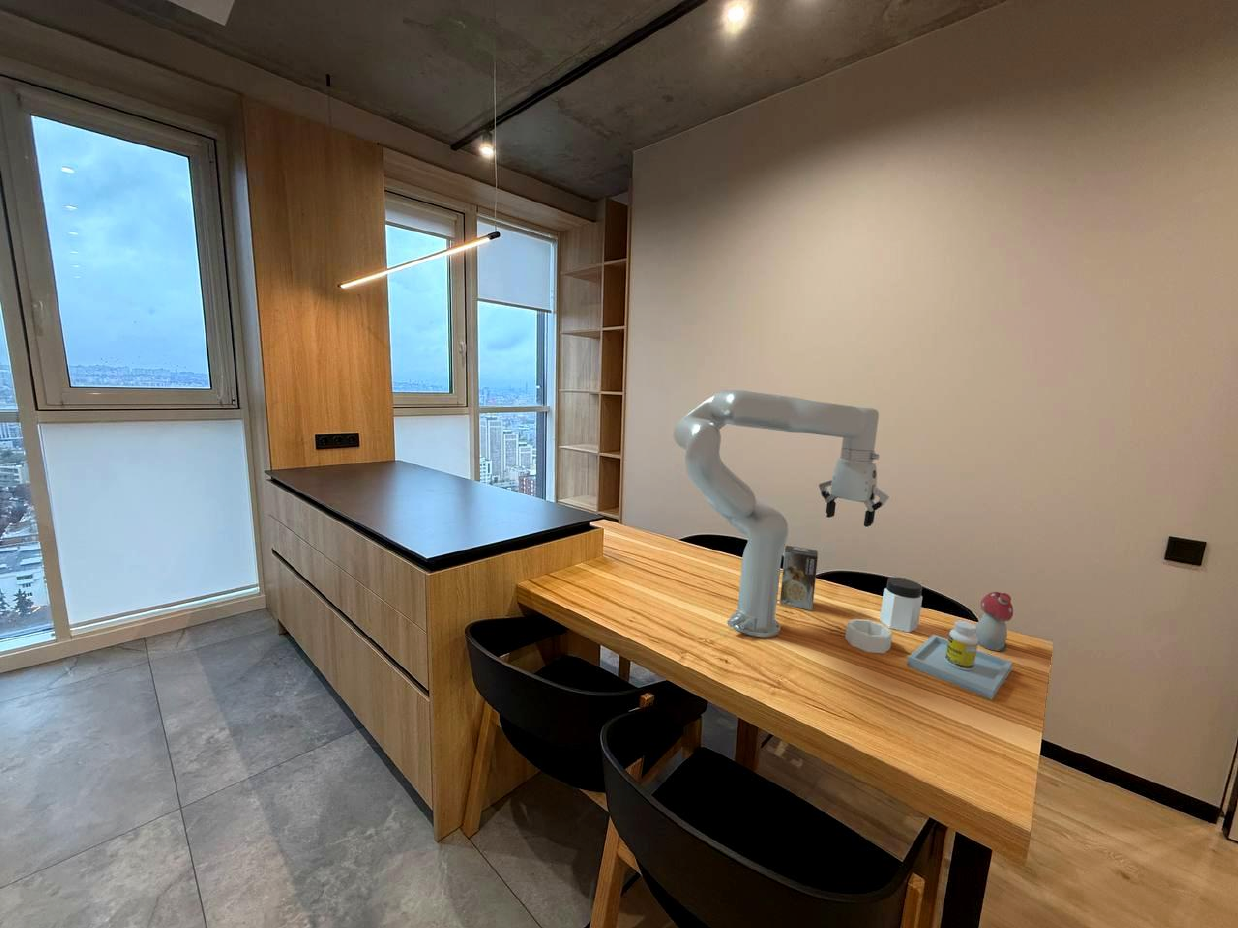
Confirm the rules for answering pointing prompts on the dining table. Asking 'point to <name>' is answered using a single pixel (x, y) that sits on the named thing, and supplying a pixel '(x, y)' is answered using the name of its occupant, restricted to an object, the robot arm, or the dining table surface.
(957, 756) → the dining table surface
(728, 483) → the robot arm
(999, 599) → the decorative ornament
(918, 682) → the dining table surface
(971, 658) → the supplement bottle
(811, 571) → the coffee box
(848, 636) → the bowl
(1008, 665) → the tray
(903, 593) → the jar
